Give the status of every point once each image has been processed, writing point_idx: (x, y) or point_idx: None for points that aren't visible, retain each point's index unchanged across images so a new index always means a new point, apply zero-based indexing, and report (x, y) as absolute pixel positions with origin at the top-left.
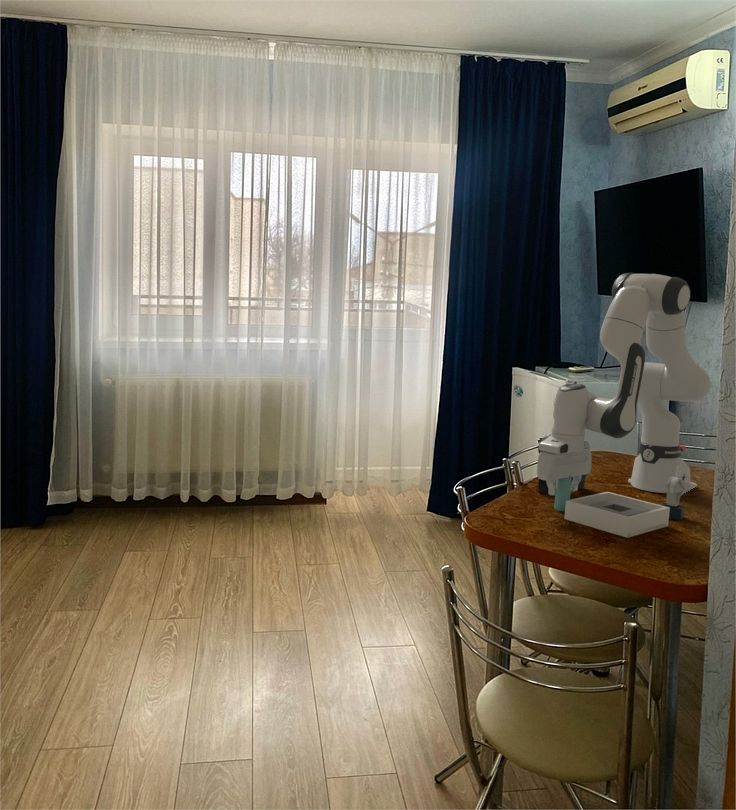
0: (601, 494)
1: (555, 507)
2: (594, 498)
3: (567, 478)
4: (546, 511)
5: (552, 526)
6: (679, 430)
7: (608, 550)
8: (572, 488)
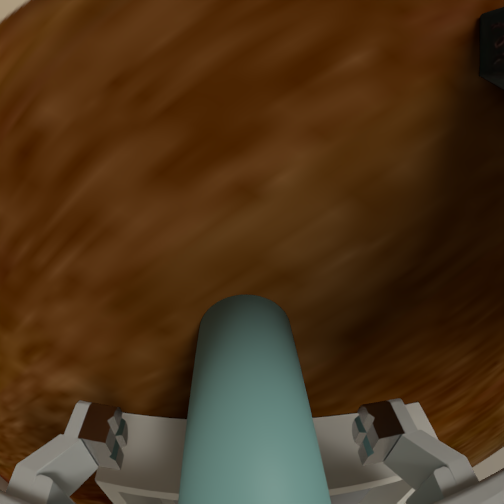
0: (379, 485)
1: (199, 329)
2: None
3: None
4: (121, 311)
5: (23, 410)
6: None
7: None
8: (361, 433)
